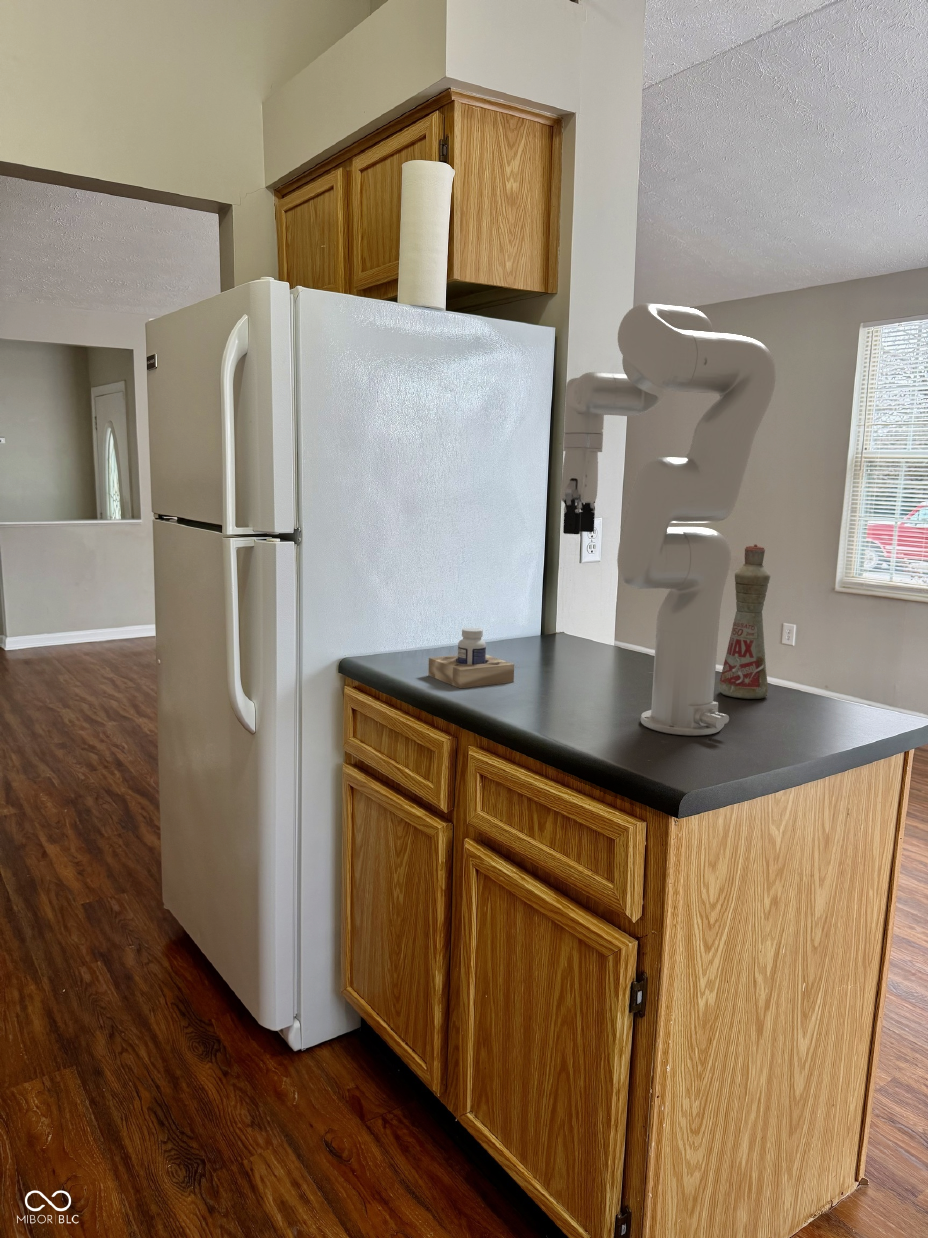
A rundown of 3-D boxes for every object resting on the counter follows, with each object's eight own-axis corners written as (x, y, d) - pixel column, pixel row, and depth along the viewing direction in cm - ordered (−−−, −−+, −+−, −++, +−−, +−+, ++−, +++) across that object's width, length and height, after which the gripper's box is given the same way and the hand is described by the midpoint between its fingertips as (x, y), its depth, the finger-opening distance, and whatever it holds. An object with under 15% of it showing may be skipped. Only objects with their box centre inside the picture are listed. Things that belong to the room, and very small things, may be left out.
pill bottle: (486, 676, 173) (487, 627, 171) (483, 682, 167) (485, 632, 166) (458, 675, 173) (459, 626, 172) (455, 681, 168) (456, 631, 166)
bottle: (779, 697, 162) (792, 545, 157) (745, 703, 157) (757, 546, 152) (741, 687, 169) (753, 541, 164) (708, 692, 164) (719, 542, 160)
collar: (513, 682, 168) (514, 664, 168) (459, 688, 162) (460, 669, 162) (480, 669, 179) (480, 652, 178) (428, 675, 172) (428, 657, 172)
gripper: (577, 445, 179) (573, 530, 182) (550, 441, 164) (546, 533, 166) (613, 446, 176) (608, 531, 179) (589, 441, 161) (585, 535, 163)
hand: (578, 532), depth 173 cm, fingers open, 9 cm apart
